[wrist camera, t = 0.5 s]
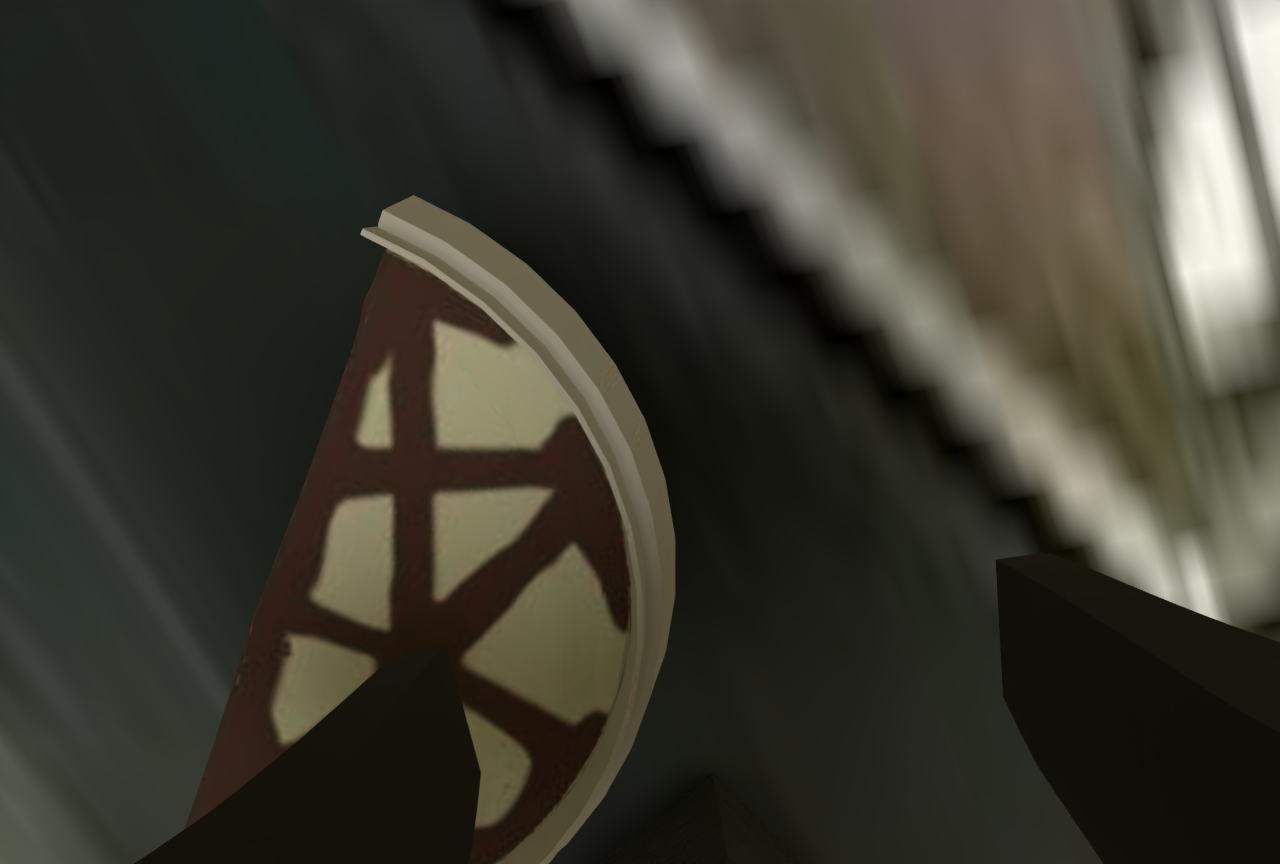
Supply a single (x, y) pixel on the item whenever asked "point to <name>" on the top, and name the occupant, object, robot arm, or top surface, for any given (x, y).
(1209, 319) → the top surface
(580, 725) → the food container
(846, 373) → the top surface
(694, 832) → the steel block
